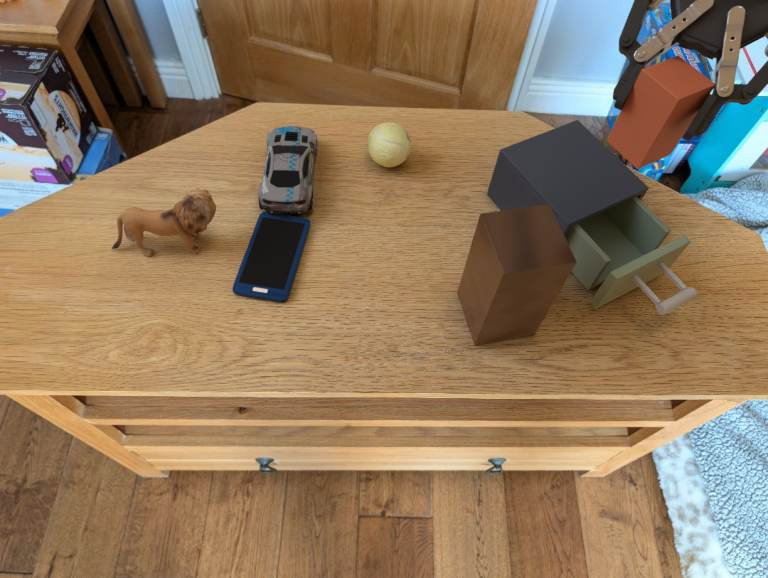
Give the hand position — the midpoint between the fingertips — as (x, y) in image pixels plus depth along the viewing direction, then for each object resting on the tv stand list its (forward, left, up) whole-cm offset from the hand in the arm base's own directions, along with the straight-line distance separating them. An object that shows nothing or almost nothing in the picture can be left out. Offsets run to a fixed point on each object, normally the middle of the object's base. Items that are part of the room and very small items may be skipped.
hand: (652, 122), depth 50 cm
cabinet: (-5, -14, -29) cm, 33 cm away
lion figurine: (+49, -18, -29) cm, 59 cm away
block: (-1, -1, -4) cm, 5 cm away
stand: (+9, +1, -29) cm, 30 cm away
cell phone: (+36, -13, -29) cm, 48 cm away
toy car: (+32, -27, -29) cm, 51 cm away
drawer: (-9, -2, -28) cm, 30 cm away
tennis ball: (+17, -28, -29) cm, 44 cm away
